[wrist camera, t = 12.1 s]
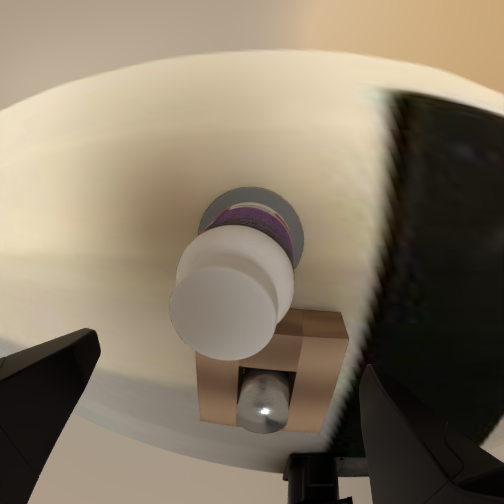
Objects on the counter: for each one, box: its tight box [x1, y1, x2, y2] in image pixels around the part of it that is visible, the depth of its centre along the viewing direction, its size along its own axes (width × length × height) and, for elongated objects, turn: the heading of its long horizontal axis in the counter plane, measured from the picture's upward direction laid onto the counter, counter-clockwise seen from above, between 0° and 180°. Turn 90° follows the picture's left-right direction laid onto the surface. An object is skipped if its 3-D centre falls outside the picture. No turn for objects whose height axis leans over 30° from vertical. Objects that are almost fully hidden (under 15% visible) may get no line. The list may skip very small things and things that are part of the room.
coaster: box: [198, 187, 304, 269], centre depth 20 cm, size 7×7×1 cm
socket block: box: [196, 309, 349, 433], centre depth 22 cm, size 10×10×4 cm
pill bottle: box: [170, 202, 294, 361], centre depth 15 cm, size 5×5×10 cm
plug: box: [236, 367, 289, 434], centre depth 20 cm, size 3×3×6 cm
